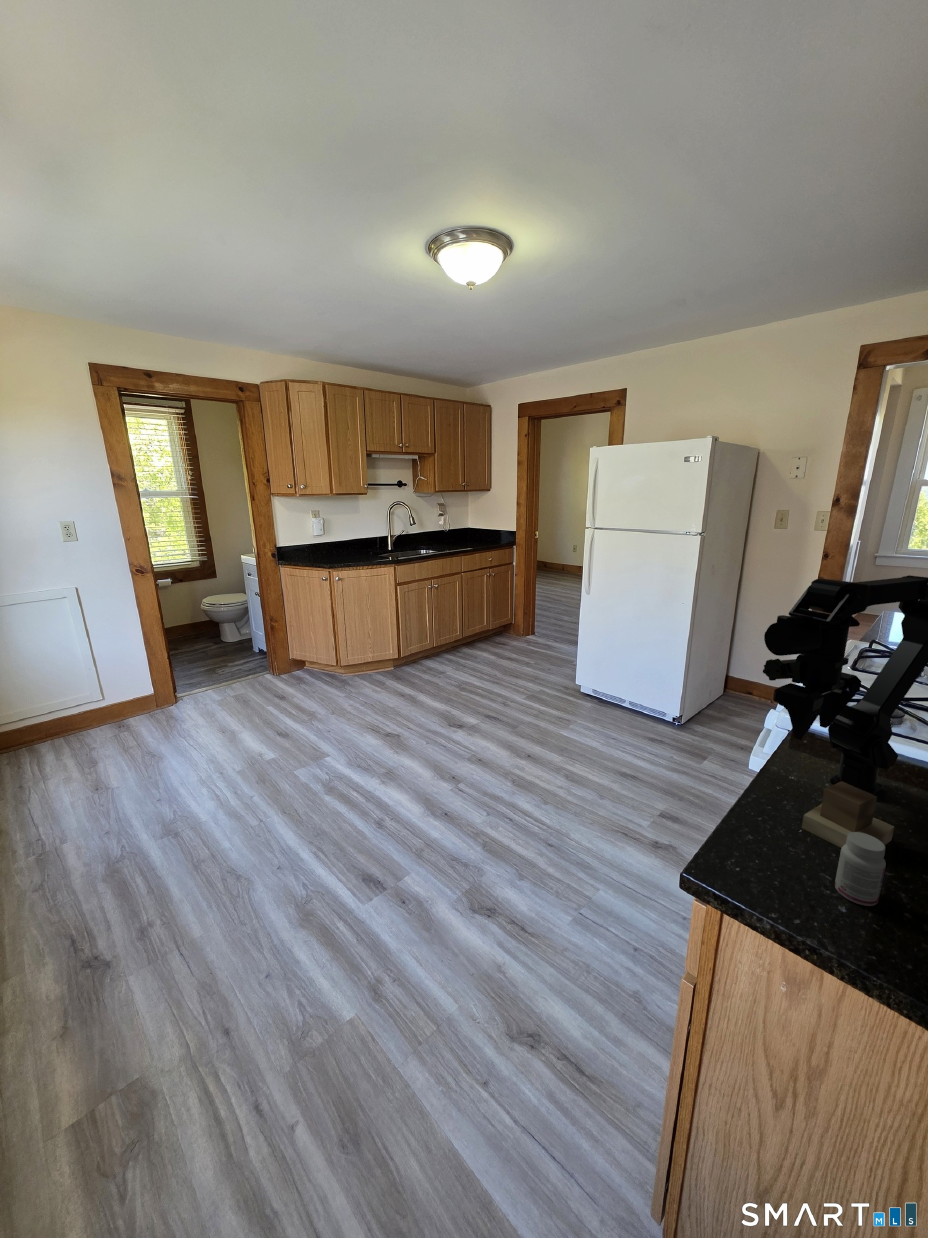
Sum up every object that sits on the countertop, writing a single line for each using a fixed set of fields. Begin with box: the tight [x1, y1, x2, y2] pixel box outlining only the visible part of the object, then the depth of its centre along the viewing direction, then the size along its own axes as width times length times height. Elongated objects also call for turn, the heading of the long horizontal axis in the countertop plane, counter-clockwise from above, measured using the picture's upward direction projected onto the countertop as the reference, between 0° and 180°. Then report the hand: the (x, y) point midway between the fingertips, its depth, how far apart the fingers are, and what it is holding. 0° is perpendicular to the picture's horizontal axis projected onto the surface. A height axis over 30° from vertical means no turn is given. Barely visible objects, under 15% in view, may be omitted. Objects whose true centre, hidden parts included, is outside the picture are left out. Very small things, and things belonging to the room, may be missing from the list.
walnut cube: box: [820, 781, 878, 832], centre depth 78 cm, size 5×5×5 cm
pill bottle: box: [834, 832, 887, 907], centre depth 66 cm, size 5×5×8 cm
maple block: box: [801, 803, 895, 849], centre depth 79 cm, size 9×9×3 cm
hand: (811, 733), depth 87 cm, fingers open, 9 cm apart
